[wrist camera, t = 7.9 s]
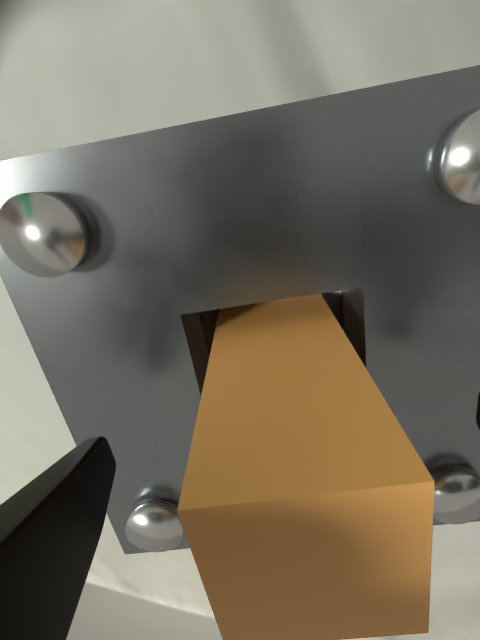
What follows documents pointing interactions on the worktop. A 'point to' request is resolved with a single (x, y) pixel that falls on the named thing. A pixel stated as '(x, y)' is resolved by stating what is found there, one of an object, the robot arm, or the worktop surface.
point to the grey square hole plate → (255, 272)
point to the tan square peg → (303, 485)
